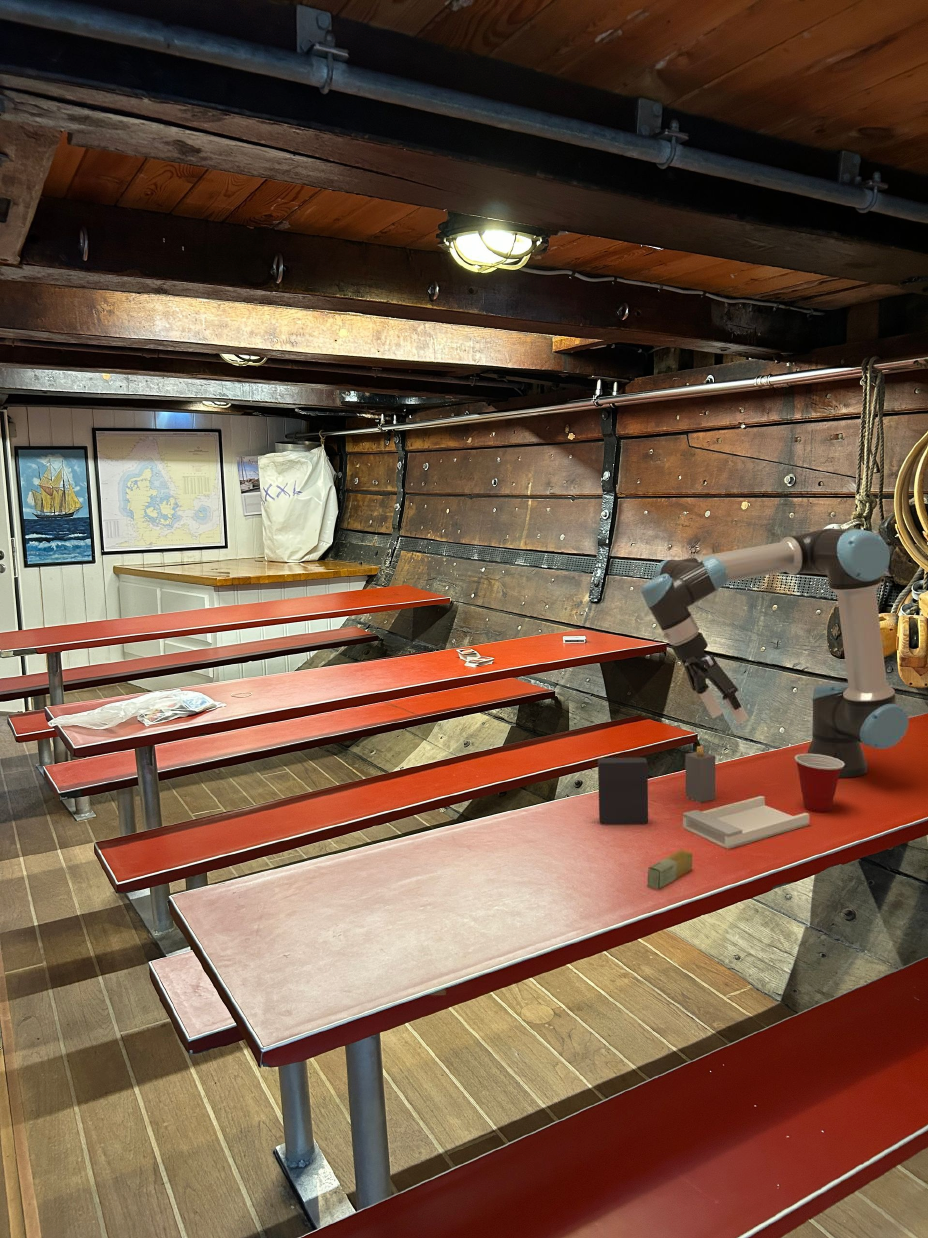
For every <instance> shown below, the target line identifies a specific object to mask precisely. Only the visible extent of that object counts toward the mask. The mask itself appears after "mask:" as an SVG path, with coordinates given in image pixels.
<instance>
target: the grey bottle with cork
mask: <svg viewBox="0 0 928 1238" xmlns="http://www.w3.org/2000/svg"><path fill="white" fill-rule="evenodd" d="M704 750H705V748H704V746H701V745H698V746H697V747H696V751H695V752H690V753H685V757H684V758H685V767H684V768H685V798H686V797H688V798H687V799H689V798H690V799H689V800H691V799H693V800H694V802H696V801H697V802H696V803H698V802H699V803H698V804H701V803H700V802H703V803H705V802H704V801H707V802H709V801H708V800H710V801H713V799H714V800H716V755H714V754H712V753H708V752H705V751H704ZM693 800H692V801H693Z"/></svg>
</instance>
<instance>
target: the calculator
mask: <svg viewBox="0 0 928 1238" xmlns="http://www.w3.org/2000/svg"><path fill="white" fill-rule="evenodd" d="M648 769H649V764H648V761H647V758H646V757H600V758H598V759H597V776H598V777H597V781H598V782H597V783H598V814H599V815H598V820H599V824H600V825H648V824H649V789H648V788H649V784H648V783H649V782H648V781H649V770H648Z"/></svg>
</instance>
